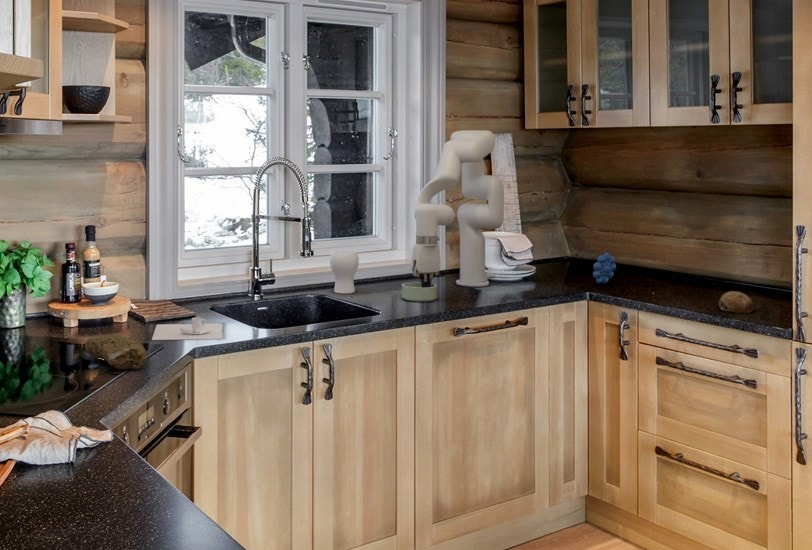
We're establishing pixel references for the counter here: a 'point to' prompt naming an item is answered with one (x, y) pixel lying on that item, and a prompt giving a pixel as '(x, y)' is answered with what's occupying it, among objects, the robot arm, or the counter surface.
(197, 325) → the teacup and saucer
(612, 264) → the grapes
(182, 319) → the counter surface
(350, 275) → the cup
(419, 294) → the bowl
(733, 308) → the bread roll
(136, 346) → the sponge
